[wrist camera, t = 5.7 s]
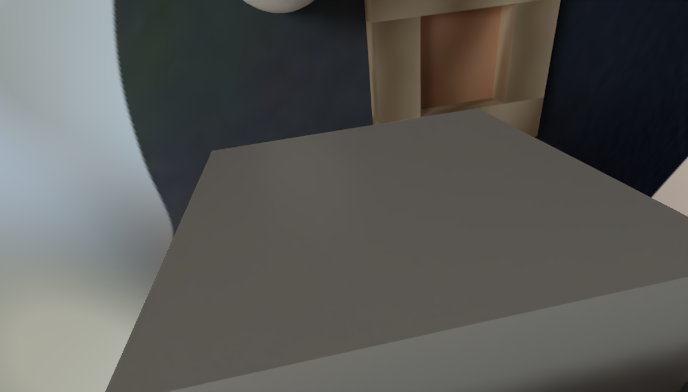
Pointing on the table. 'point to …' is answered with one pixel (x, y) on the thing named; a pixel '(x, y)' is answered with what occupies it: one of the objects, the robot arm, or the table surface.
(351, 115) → the table surface
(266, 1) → the supplement bottle
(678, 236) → the light gray cube
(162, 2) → the table surface
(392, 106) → the socket board
